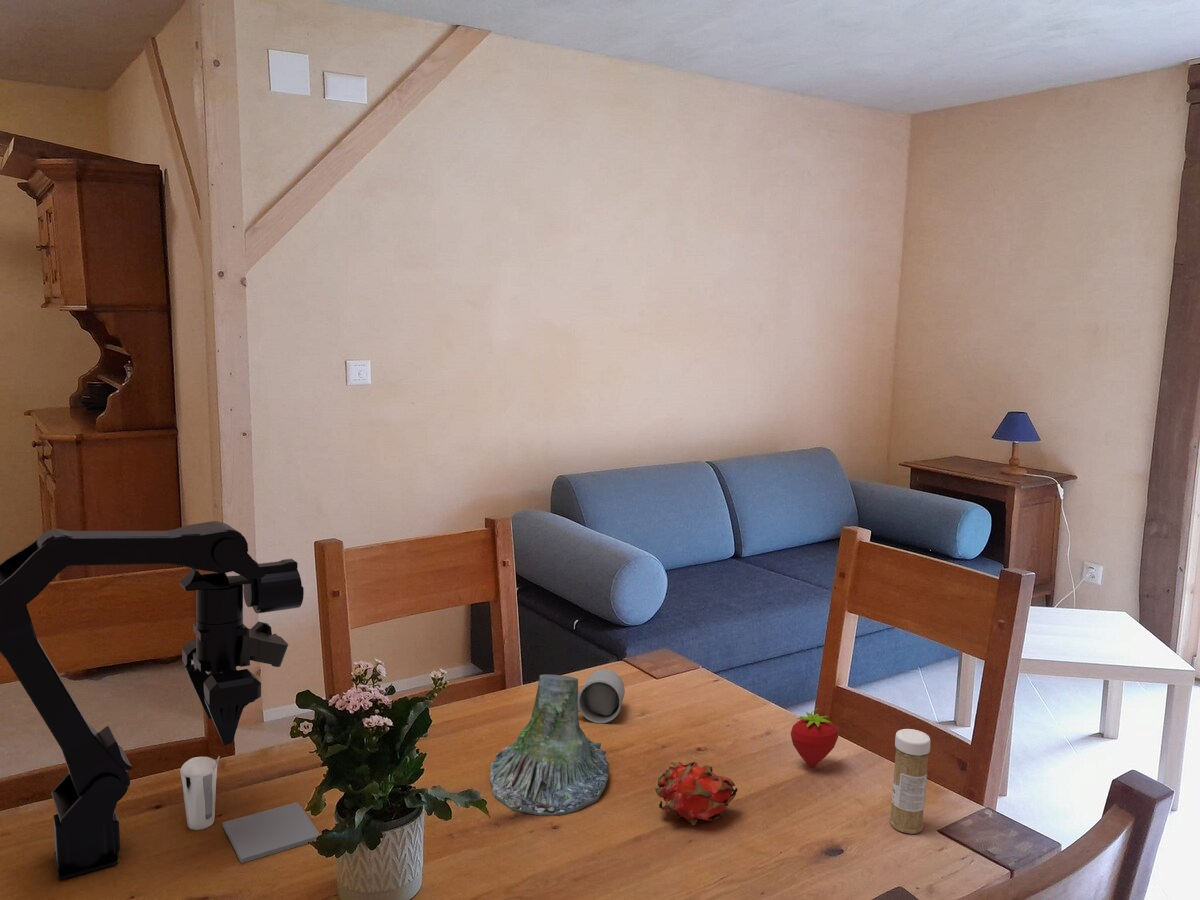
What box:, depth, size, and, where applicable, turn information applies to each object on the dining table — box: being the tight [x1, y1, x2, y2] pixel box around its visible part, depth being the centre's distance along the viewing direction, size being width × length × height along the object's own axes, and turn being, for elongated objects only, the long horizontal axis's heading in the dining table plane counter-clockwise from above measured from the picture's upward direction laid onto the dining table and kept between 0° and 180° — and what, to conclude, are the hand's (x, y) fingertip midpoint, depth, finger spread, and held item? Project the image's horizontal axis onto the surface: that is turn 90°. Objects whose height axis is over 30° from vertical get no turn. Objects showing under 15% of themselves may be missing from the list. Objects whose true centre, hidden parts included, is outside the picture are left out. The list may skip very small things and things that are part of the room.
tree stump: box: [489, 673, 610, 817], centre depth 137 cm, size 18×20×18 cm
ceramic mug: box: [578, 669, 626, 724], centre depth 160 cm, size 11×8×8 cm
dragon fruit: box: [654, 761, 738, 826], centre depth 127 cm, size 8×8×12 cm
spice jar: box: [889, 728, 931, 834], centre depth 125 cm, size 5×5×14 cm
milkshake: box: [179, 755, 221, 831], centre depth 122 cm, size 4×5×10 cm
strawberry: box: [790, 708, 839, 768], centre depth 142 cm, size 6×8×10 cm
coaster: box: [222, 801, 320, 864], centre depth 121 cm, size 10×10×1 cm
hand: (219, 730), depth 122 cm, fingers open, 9 cm apart
